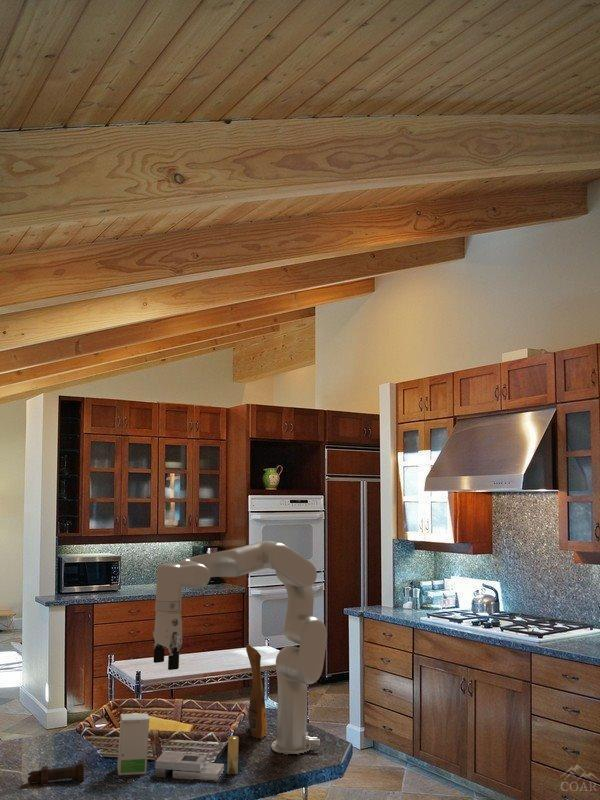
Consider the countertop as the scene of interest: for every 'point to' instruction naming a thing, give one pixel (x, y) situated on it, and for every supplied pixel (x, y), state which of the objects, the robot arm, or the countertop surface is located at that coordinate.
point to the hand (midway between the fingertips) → (165, 665)
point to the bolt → (57, 774)
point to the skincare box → (133, 744)
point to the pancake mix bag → (256, 697)
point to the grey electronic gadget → (187, 766)
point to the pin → (232, 755)
